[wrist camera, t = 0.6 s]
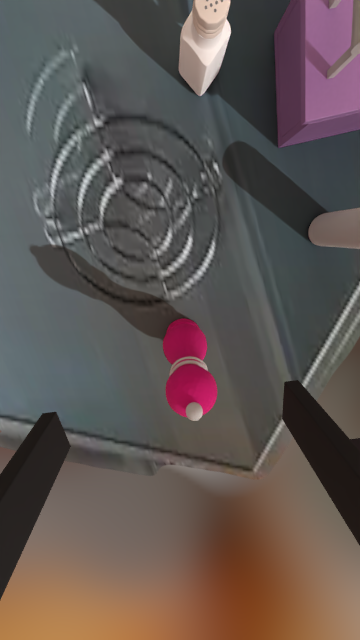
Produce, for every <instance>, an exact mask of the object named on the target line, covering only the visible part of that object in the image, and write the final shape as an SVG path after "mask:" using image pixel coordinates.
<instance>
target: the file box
mask: <svg viewBox="0 0 360 640" xmlns="http://www.w3.org/2000/svg"><path fill="white" fill-rule="evenodd" d="M274 44H275V72H276V99H277V127H278V148H281V147H285V146H290V145H294V144H298V143H303V142H307V141H312V140H316V139H320V138H325V137H329V136H333V135H338V134H342V133H346V132H351V131H355V130H360V112H357V113H352V114H348V115H344V116H339V117H335V118H331V119H326V120H322V121H318V122H314V123H309V124H305V125H301V0H291V1H290V3H289V5H288V7H287V9H286V11H285V13H284V15H283V17H282V19H281V21H280V22H279V24H278V27H277V28H276V30H275V32H274Z"/></svg>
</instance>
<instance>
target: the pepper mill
mask: <svg viewBox="0 0 360 640" xmlns="http://www.w3.org/2000/svg"><path fill="white" fill-rule="evenodd" d="M163 350H164V354H165V356H166V358H167V360H168V361H169V362H170V363H171V364H172V367H171V369H170V377H169V379H168V381H167V384H166V397H167V401H168V403H169V405H170V407H171V408H172V409H173V410H174V411H175V412H176V413H178V414H179V415H181V416H184V417H188V418H189V419H190V420H192V421H196V420H199V419H200V418H201V417H202V415H204V414H206V413H207V412H208V411H209V410H210V409H211V408H212V407H213V405H214V404H215V401H216V398H217V386H216V382H215V380H214V377H213V376H212V375H211V373H209V372H208V369H207V366H206V364H205V363H204V362H203V361H202V360H203V358H204V357H205V354H206V351H207V342H206V338H205V335H204V334H203V332H202V331H201V330H200V329H199V327H198V325H197V324H196V323H195V322H194V321H192V320H189V319H178V320H175V321H174V322H172V323H171V324H170V325H169V327H168V329H167V332H166V335H165V337H164V340H163Z"/></svg>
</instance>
